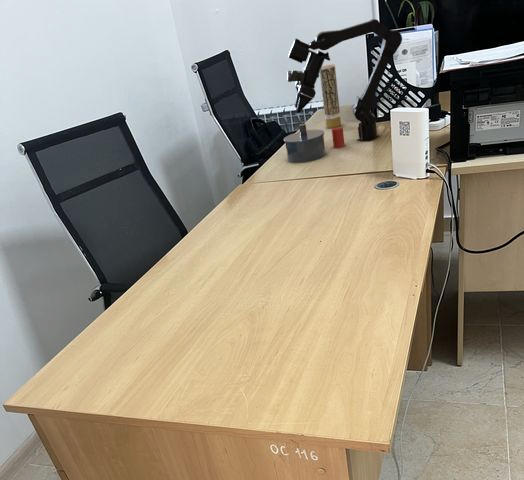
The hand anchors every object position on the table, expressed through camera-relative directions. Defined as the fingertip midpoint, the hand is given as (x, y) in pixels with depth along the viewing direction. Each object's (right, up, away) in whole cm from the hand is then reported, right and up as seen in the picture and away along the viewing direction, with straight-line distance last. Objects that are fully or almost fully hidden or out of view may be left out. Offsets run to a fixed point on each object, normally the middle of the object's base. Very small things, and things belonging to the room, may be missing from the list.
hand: (296, 110), depth 212 cm
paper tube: (+19, +7, +34) cm, 40 cm away
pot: (+4, -18, 0) cm, 19 cm away
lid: (+3, -12, -4) cm, 13 cm away
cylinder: (+17, -13, +4) cm, 22 cm away
